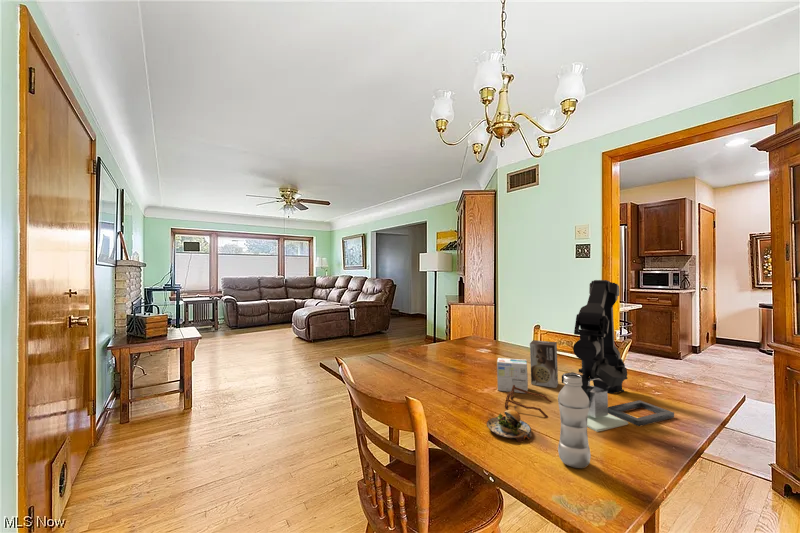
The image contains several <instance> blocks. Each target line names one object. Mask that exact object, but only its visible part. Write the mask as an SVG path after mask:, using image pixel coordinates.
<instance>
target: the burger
mask: <svg viewBox="0 0 800 533" xmlns="http://www.w3.org/2000/svg"><path fill="white" fill-rule="evenodd" d="M517 406H518V405H517V404H515V408H514V409H506V410H505V411H504V412H503V413H504V415H505V416H503V414H502V413H499V414H498V416H497V417H496V416H495V417H492V418H490V419H489V420H488V421H487V422H486V427H487V428H488V429H489V430H490V431H491V432H493V433H494V434H496V435H497V436H500V437H502V438H508V439H515V440H516V442H517V443H520V444H521V443H522V442H525V439H526V438H527V440H530V439H531V438H532V435H533V433H532V427H531V426H530V425H529V424H528V423H527V422H526V421H524V420H522V419H521V414H520V413H518V412H517V411H516V408H517Z"/></svg>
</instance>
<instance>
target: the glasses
mask: <svg viewBox="0 0 800 533" xmlns="http://www.w3.org/2000/svg"><path fill="white" fill-rule="evenodd" d="M515 389H516V390H519V391H522V392H525V393H524V394H528V395H531V396H535V397H536V396H537V397H542V398H544V399H545V400H546V401H547V402H548V403H550V404H551V403H552V404H553V401H552V400H550V398H549V397H547V396H546V395H544V394H541V393H534V392H531V391H525V390H522V389H519V388H516V387H515V385H513V387H512V390H511V392H507V394H506V398H505V402H504V408H505V409H506V408H507V407H508V406H509V403H511V404H514V405H516V404H517V405H516V406H519V407H521V408H524V409H526V410H531V409H532V410H537V411H539V412H540V413H541V414H542V415H543V416H544V417H545V418H549V416H548V415H547V414H546V413H545V412H544V411H543V409H541V408H539V407H537V406H536V407H535V406H528V405H524V404H522V403H519V402H515V401H514V400H512V399H513V397H514V394H515V392H514V390H515Z"/></svg>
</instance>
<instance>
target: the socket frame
mask: <svg viewBox="0 0 800 533" xmlns="http://www.w3.org/2000/svg"><path fill="white" fill-rule="evenodd" d="M640 408H642V409H645V410H647V411H650V412H652V413H653V414H649V415H644V416H640V417H639V416H638V417H636V416H633V415H631V414H628V413H626V412H627V411H632V410H636V409H640ZM608 414H610V415H613V416H615V417H617V418H620V419H622V420H624V421H627V422H628V423H630V424H632V425H634V426H637V427H642V426H646V425H651V424H654V423H658V422H662V421H667V420H669V419H670V420H671V419H674V418H675V412H674V411H672V410H668V409H666V408H662V407H660V406H657V405H654V404H651V403H648V402H645V401H644V400H640V399H639V400H635V401H629V402H626V403H625V402H624V403H621V404H616V405H611V406H608Z"/></svg>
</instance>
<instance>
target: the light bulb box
mask: <svg viewBox="0 0 800 533" xmlns="http://www.w3.org/2000/svg"><path fill="white" fill-rule="evenodd" d="M496 373H497V376H496V377H497V391H498V390H499V391H500V392H507V393H510V392H511V390H512V387H513V385H515V387H516V388H519V389H522V390H525V391H528V390H529V389H528V388H529V387H528V384H529V383H528V382H529V380H528V379H529V378H528V363H527V359H521V358H520V359H519V358H505V357H504V358H503V357H498V358H497V361H496ZM528 392H529V391H528ZM514 393H518V394H519V393H520V394H526V393H525V392H522V391H519V390H516V389H515V390H514Z"/></svg>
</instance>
